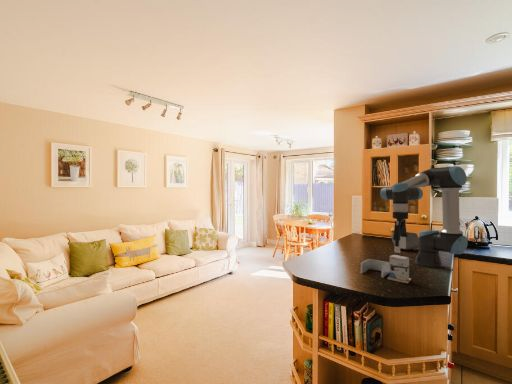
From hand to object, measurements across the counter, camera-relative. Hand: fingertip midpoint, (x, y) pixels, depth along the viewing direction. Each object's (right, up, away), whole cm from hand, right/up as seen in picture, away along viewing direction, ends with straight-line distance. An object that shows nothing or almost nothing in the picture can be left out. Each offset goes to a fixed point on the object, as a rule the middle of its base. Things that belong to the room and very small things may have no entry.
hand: (400, 250), depth 147 cm
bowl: (+51, -18, +88) cm, 103 cm away
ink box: (-1, -15, 0) cm, 15 cm away
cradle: (-8, -16, +12) cm, 21 cm away
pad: (-1, -16, 0) cm, 16 cm away
